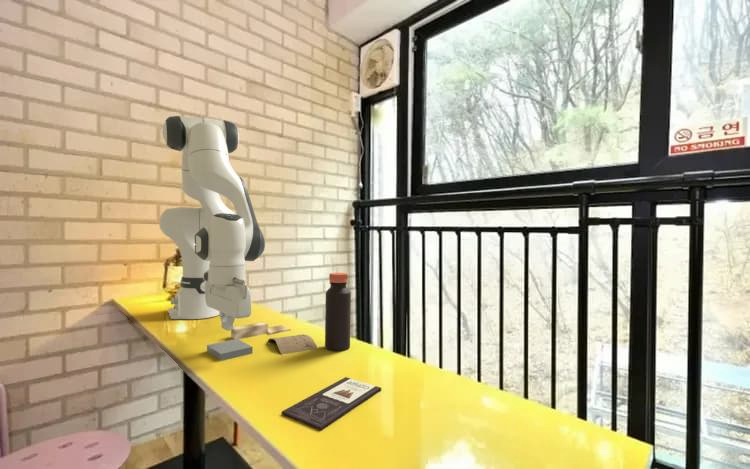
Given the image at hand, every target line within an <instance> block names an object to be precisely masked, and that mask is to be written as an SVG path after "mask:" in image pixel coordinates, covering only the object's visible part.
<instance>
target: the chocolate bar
mask: <svg viewBox="0 0 750 469" xmlns="http://www.w3.org/2000/svg"><path fill="white" fill-rule="evenodd" d="M381 391H382V387H380V386H376V385H373V384H370V383H367V382H365V381H364V382H363V381H359V380H357V379H353V378H350V377H348V376H347V377H346V376H345V377H343V378H341V379H340V380H338V381H335V382H334V383H332V384H330V385H329V386H326V387H324V388H323V389H321V390H319V391H317V392H315V393H313V394H311V395H310V396H308V397H306V398H304V399H302V400H300V401H299V402H296V403H295V404H293V405H292V406H289V407H288V408H286V409H284V410H282V411H281V416H284V417H286V418H288V419H291V420H293V421H297V422H299V423H301V424H304V425H306V426H308V427H310V428H313V429H315V430H318V431H323V430H325V429H326V428H328V427H329V426H331V425H332V424H334V423H335V422H337V421H338V420H340V419H341V418H342V417H344V416H346V415H347V414H349V413H351V412H352V410H354V409H356V408H358V407H359V406H360V405H362V404H363V403H364V402H366V401H368V400H369V399H371V398H372V397H374V396H375V395H376V394H378V393H380V392H381Z"/></svg>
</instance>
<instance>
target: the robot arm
mask: <svg viewBox="0 0 750 469" xmlns="http://www.w3.org/2000/svg"><path fill="white" fill-rule="evenodd" d="M237 127H238V126H236V124H235V123H233V122H231V121H229V120H220V119H216V118H212V117H211V118H210V117H205V116H204V117H203V116H202V117H197V116H180V115H173V116H168V118H166V119H165V122H164V124H163V126H162V137H163V140H164V142H165V143H166V144H165V145H166V146H167V147H168V148H169V149H171V150H175V151H178V152H181V151H182V156H181V157H182V158H181V187H182V191H183V192H184V194H185V195H186V196H188V197H189V198H192V199H194V200H195V201H197V202H199V203H200V204H201V207H186V206H185V207H183V206H182V207H181V206H178V207H172V208H166V209H165V210H163V212H162V213H161V215H159V216H160V217H159V220H158V224H159V229H160V230H161V232H162V233H163V234H164V235H165V236H166V237H168V238H169V239H170V240H172V241H173V243H175V245H176V246H177V247H178V249H179V251H180V252H179V253H180V254H181V255H180V256H181V261H182V262H181V264H182V277H181V279H180V284H179V285H180V288H179V290H178V291H177V292H176V294H175V296H174V297H171V298H170V305H173V307H170V308H168V309H167V314H168V313H169V314H168V316H169V318H170V319H171V320H199V319H201V320H202V319H208V318H212V317H213V318H214V317H216V316H219V318H220V322H221V329H223V330H225V331H227V332H229V331H231V330H232V329H233V327H234V322H235V319H246V318H249V317H251V315H252V295H251V291H250V287H249V286H248V285H247V284H246V282H247V280H246V278H247V275H246V273H247V272H246V271H247V268H246V267H247V266H246V264H247V263H246V262H254V261H256V260H257V259H258V258H260V256H262V254H264V251H265V247H266V241H265V236H264V234H263V232H262V230H261V228H260V226H259V223H258V220H257V217H256V214H255V211H254V207H253V204H252V201H251V198H250V194H249V192H248V189H247V185H246V183H245V181H244V179H243V178H242V177H241V176H240V175H238V174H237V173H236V172H235V170H234V168H233V167H232V164H231V162H230V156H229V154H231V153H234V152H235V151H237V148H238V146H239V143H240V133H239V130H238V128H237ZM220 195H222V197H225V198H226V199H227V200H228V201H230V202H231V203H232V205H233V206H234V210H235V212H236V213H235V212H234V211H233V210H232V209H230V208H229V207H228V206H227V205H226V204H225V203H224V202H223V201H222V200H223V199H222V198H221V196H220Z"/></svg>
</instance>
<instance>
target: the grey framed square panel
mask: <svg viewBox="0 0 750 469" xmlns="http://www.w3.org/2000/svg"><path fill="white" fill-rule="evenodd" d="M206 353H208V354H210V355H211V356H213V357H215V359H218V360H219V361H220V362H222V361H227V360H232V359H234V358H239V357H243V356H247V355H252V354H253V346H252V345H250V344H248V343H246V342H244V341H242V340H241V339H230V340H226V341H225V340H224V341H220V342H216V343H211V344H206Z"/></svg>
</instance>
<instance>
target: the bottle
mask: <svg viewBox="0 0 750 469" xmlns="http://www.w3.org/2000/svg"><path fill="white" fill-rule="evenodd" d="M348 275H349V274H348V273H345V272H331V273H329V276H328V277H329V279H328V280H329V285H330V287H329V288H328V289H327V290H326V292H325V307H324V308H325V313H324V317H325V318H324V325H325V326H324V347H325V349H326V350H328V351H332V352H342V351H345V350H349V348H350V347H351V303H352V297H351V295H352V293H351V290H350V289H349V288H348V287H347V285H348V281H349V280H348V279H349V278H348V277H349V276H348Z"/></svg>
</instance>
